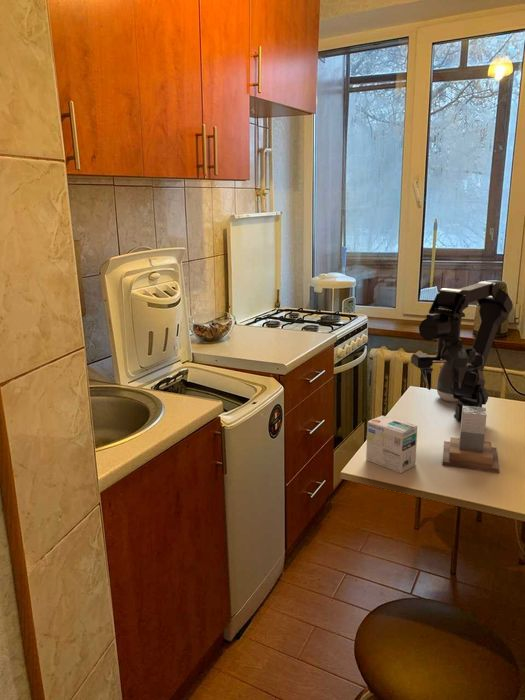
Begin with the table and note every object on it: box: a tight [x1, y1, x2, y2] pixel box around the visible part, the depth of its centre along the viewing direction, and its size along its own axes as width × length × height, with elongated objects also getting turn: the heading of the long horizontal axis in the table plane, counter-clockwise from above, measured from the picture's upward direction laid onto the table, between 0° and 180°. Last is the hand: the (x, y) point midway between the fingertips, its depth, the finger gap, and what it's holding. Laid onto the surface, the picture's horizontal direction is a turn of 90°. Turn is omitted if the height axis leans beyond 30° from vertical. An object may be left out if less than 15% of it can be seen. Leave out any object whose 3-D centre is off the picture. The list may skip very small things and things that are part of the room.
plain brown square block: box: [459, 406, 487, 453], centre depth 136 cm, size 6×6×10 cm
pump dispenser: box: [435, 363, 459, 403], centre depth 179 cm, size 10×10×15 cm
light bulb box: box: [365, 415, 418, 474], centre depth 135 cm, size 11×7×11 cm, turn 43°
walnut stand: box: [441, 437, 500, 474], centre depth 138 cm, size 13×13×3 cm
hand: (444, 388), depth 151 cm, fingers open, 9 cm apart
